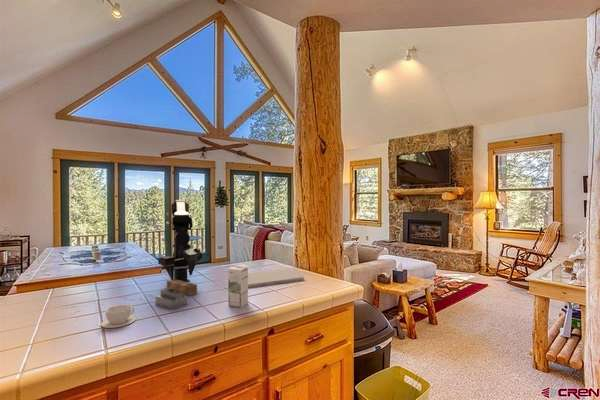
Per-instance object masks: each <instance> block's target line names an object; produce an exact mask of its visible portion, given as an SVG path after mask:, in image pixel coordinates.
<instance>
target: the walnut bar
mask: <svg viewBox="0 0 600 400" xmlns="http://www.w3.org/2000/svg"><path fill="white" fill-rule="evenodd" d="M166 288H170V289H173V290H176V291H180V292H183V295H185V296H187V297H188V296H189V295H190V296H192V295H197V294H198V285H197V284H195V283H191V282H189V281H187V282H185V281H181V280H177V279H174V278H173V280H171V279H169V280H166Z"/></svg>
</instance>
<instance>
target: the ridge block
mask: <svg viewBox="0 0 600 400" xmlns="http://www.w3.org/2000/svg"><path fill="white" fill-rule="evenodd" d="M155 305H158V306H161V307H162V308H166V309H169V310H173V309H175V308H179V307H182V306H186V305H188V295H185V294H183V292H180V291H176V290H173V289H170V288H167V287H166V288H162V289H160V295H156V296H155Z"/></svg>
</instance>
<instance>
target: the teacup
mask: <svg viewBox="0 0 600 400" xmlns="http://www.w3.org/2000/svg"><path fill="white" fill-rule="evenodd" d="M134 313H135V307H133V306H132V305H130V304H118V305H114V306H111V307H109V308H107V309H105V317H106V320H104V321H102V322H101V323H100V326H101V327H102V328H105V329H107V328H108V329H113V328H120V327H124V326H127V325H129V324H132V323H134V322H135V321H136V320H137V317H136V316H135V315H133V314H134Z"/></svg>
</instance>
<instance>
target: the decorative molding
mask: <svg viewBox="0 0 600 400" xmlns="http://www.w3.org/2000/svg"><path fill="white" fill-rule="evenodd" d="M304 279H305V276H304V275H303V274H302V273H301V272H300V271H299V270H298V268H297V267H291V268H281V269H273V270H266V271H265V270H264V271H255V272H248V288H255V287H261V286H262V287H263V286H270V285H276V284H283V283H291V282H300V281H304Z"/></svg>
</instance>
